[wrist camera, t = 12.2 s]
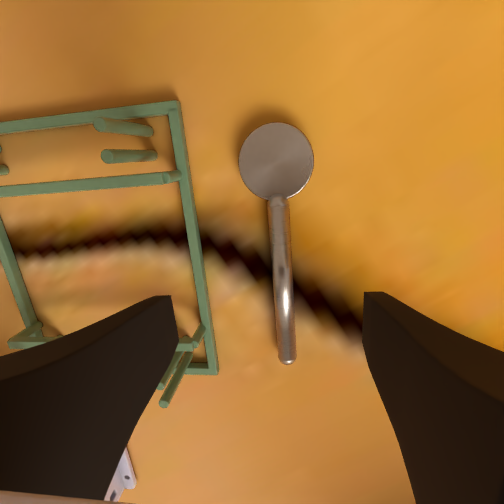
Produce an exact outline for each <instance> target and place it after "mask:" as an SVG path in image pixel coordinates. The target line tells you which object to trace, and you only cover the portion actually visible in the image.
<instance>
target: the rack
mask: <svg viewBox="0 0 504 504" xmlns="http://www.w3.org/2000/svg"><path fill="white" fill-rule="evenodd" d="M164 115H168V117H169V124H170V130H171V136H172V142H173V149H174V155H175V161H176V167H177V170H173V171H166V172H155V173H144V174H132V175H121V176H109V177H98V178H86V179H75V180H63V181H52V182H40V183H29V184H17V185H6V186H0V197H13V196H25V195H38V194H50V193H63V192H75V191H88V190H100V189H113V188H125V187H138V186H150V185H163V184H168V183H172V182H176V181H179V186H180V192H181V198H182V205H183V211H184V217H185V223H186V230H187V236H188V242H189V248H190V255H191V261H192V267H193V273H194V280H195V286H196V292H197V298H198V305H199V311H200V317H201V322H200V324H199V326H198V328H197V330H196V332H195V333H194V335H193V337H192V338H189V337H188V336H183V337H182V338H179V343H178V346H177V348H176V351H175V354H174V356H173V358H172V361H171V363H170V365H169V367H168V369H167V371H166V372H165V374H164V376H163V378H162V380H161V381H160V383H159V385H158V387H157V388H156V389H158V390H163V389H164V388H165V386H166V384H167V382H168V380H169V378H170V377H171V375H172V374H174V375H173V377H172V378H171V380H170V382H169V384H168V386H167V388H166V389H165V391H164V393H163V395H162V397H161V399H160V400H159V406H160V407H162V408H167V407H168V406H169V404H170V401H171V399H172V397H173V395H174V393H175V391H176V389H177V387H178V385H179V383H180V381H181V379H182V377H183V375H184V374H190V375H218V372H219V364H218V357H217V351H216V344H215V337H214V330H213V323H212V317H211V310H210V303H209V296H208V289H207V283H206V276H205V269H204V262H203V255H202V249H201V242H200V235H199V228H198V221H197V214H196V208H195V201H194V194H193V187H192V180H191V174H190V167H189V160H188V153H187V146H186V140H185V133H184V126H183V119H182V112H181V106H180V102H179V101H177V100H171V101H163V102H155V103H147V104H139V105H132V106H124V107H116V108H108V109H100V110H92V111H84V112H76V113H68V114H61V115H53V116H45V117H37V118H29V119H21V120H13V121H5V122H0V135H4V134H12V133H21V132H29V131H38V130H46V129H54V128H63V127H71V126H80V125H88V124H93V125H94V128H95V129H96V130H97V131H99V132H106V133H116V134H125V135H135V136H144V137H151V136H152V135H153V129H152V127H151V126H148V125H143V124H138V123H132V122H127V121H122V120H130V119H139V118H147V117H155V116H164ZM1 151H2V148H1V146H0V152H1ZM157 157H158V155H157V153H156V151H154V150H125V149H105V150H103V151H102V152H101V158H102V160H103V161H104V162H105V163H107V164H111V163H127V162H144V161H155V160H156V159H157ZM8 173H9V169H8V167H7V166H5V165H0V175H7V174H8ZM0 260H1V263H2V265H3V268H4V271H5V273H6V276H7V279H8V281H9V284H10V287H11V289H12V292H13V295H14V297H15V300H16V303H17V305H18V308H19V311H20V313H21V316H22V319H23V321H24V324H25V327H26V329H24V330H23V331H21V332H20V333H18V334H17V335H15V336H13V337H12V338H10V339H9V340H8V341H7V343H8V346H9V348H10V349H27V348H31V347H34V346H37V345H40V344H43V343H46V342H49V341H52V340H55V339H57V338H60V337H63V336H62V335H58V336H57V337H43V335H42V332H41V329H40V328H42V326H43V324H42V323H41V322H40V321H37V318H36V315H35V312H34V309H33V307H32V304H31V301H30V298H29V295H28V293H27V290H26V287H25V284H24V281H23V279H22V276H21V273H20V270H19V267H18V265H17V262H16V259H15V256H14V253H13V251H12V248H11V245H10V242H9V239H8V237H7V234H6V231H5V228H4V225H3V223H2V220H1V217H0ZM203 336H204V342H205V348H206V355H207V361H208V363H190V361H191V359H192V357H193V353H192V351H193V350H194V348H197V347H198V346H199V344H200V342H201V340H202V338H203ZM184 351H187V352H186V353H185V354H184V356H183V358H182V360H181V362H180V363H178V362H179V360H180V359H181V357H182V355H183V353H184ZM190 351H191V352H190Z"/></svg>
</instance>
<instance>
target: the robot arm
mask: <svg viewBox="0 0 504 504" xmlns="http://www.w3.org/2000/svg"><path fill="white" fill-rule="evenodd" d="M178 343H179V336H178V331H177V326H176V320H175V315H174V310H173V304H172V299H171V295H165V296H153V297H150V298H148V299H145V300H143V301H141V302H139V303H136V304H134V305H132V306H130V307H128V308H126V309H124V310H122V311H120V312H118V313H115V314H113V315H111V316H109V317H107V318H105V319H103V320H100V321H98V322H96V323H94V324H92V325H89V326H87V327H85V328H83V329H80V330H78V331H75V332H73V333H71V334H68V335H65V336H63V337H60V338H57V339H55V340H52V341H49V342H46V343H43V344H40V345H37V346H34V347H31V348H27V349H24V350H21V351H18V352H14V353H11V354H8V355H4V356H1V357H0V504H134V503H123V502H118V500H119V498H120V496H121V495H122V493H123V491H124V488H125V489H133V488H135V486H136V484H137V481H136V478H135V474H134V471H133V468H132V464H131V461H130V457H129V454H128V451H127V447H126V446H127V444H128V441H129V439H130V437H131V435H132V432H133V430H134V428H135V426H136V424H137V422H138V420H139V418H140V416H141V415H142V413H143V411H144V409H145V408H146V406H147V404H148V402H149V401H150V399H151V397H152V395H153V394H154V392H155V390H156V388H157V387H158V385H159V383H160V381H161V380H162V378H163V376H164V374H165V372H166V371H167V369H168V367H169V365H170V363H171V361H172V358H173V356H174V354H175V351H176V348H177V346H178ZM362 343H363V347H364V351H365V355H366V359H367V362H368V366H369V369H370V372H371V374H372V377H373V379H374V382H375V384H376V387H377V389H378V392H379V394H380V396H381V399H382V401H383V404H384V406H385V409H386V411H387V414H388V416H389V419H390V421H391V423H392V426H393V428H394V431H395V434H396V437H397V440H398V442H399V446H400V449H401V452H402V456H403V459H404V462H405V466H406V469H407V472H408V476H409V479H410V483H411V486H412V490H413V494H414V497H415V501H416V504H504V352H502V351H500V350H497V349H495V348H492V347H490V346H487V345H485V344H483V343H480V342H478V341H475V340H473V339H471V338H468V337H466V336H464V335H462V334H460V333H457V332H455V331H453V330H451V329H449V328H447V327H445V326H443V325H441V324H439V323H437V322H436V321H434V320H432V319H430V318H428V317H426V316H425V315H423V314H421V313H419V312H418V311H416V310H414V309H412V308H411V307H409V306H407V305H406V304H404V303H402V302H401V301H399V300H397V299H396V298H394V297H392V296H390V295H388V294H387V293H384V292H364V308H363V336H362Z"/></svg>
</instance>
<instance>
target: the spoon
mask: <svg viewBox="0 0 504 504" xmlns="http://www.w3.org/2000/svg"><path fill="white" fill-rule="evenodd" d="M313 166H314V154H313V150H312V147H311V144H310V142H309V140H308V139H307V137H306V136H305V135H304V134H303V133H302V132H301V131H300V130H299V129H298V128H296V127H294V126H292V125H290V124H287V123H282V122H272V123H267V124H264V125H262V126H260V127H258V128H257V129H255V130H254V131H253V132H251V133H250V134H249V136H248V137H247V138H246V140H245V141H244V143H243V145H242V147H241V150H240V154H239V171H240V175H241V177H242V180H243V182H244V183H245V185H246V186H247V187H248V189H249V190H250V191H251V192H253V193H254V194H255V195H257V196H258V197H260V198H263V199H266V200H268V203H267V207H268V221H269V235H270V249H271V263H272V277H273V291H274V305H275V318H276V332H277V346H278V357H279V360H280V361H281V363H283V364H285V365H290V364H292V363H294V362H295V360H296V336H295V316H294V295H293V275H292V254H291V234H290V214H289V201H288V198H291V197H293V196H294V195H296V194H297V193H299V192H300V191H301V190H302V189H303V188H304V187H305V186H306V184H307V183H308V181H309V179H310V177H311V175H312V171H313Z"/></svg>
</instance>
